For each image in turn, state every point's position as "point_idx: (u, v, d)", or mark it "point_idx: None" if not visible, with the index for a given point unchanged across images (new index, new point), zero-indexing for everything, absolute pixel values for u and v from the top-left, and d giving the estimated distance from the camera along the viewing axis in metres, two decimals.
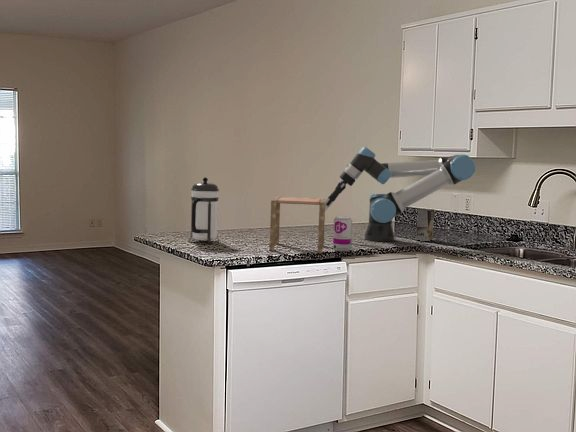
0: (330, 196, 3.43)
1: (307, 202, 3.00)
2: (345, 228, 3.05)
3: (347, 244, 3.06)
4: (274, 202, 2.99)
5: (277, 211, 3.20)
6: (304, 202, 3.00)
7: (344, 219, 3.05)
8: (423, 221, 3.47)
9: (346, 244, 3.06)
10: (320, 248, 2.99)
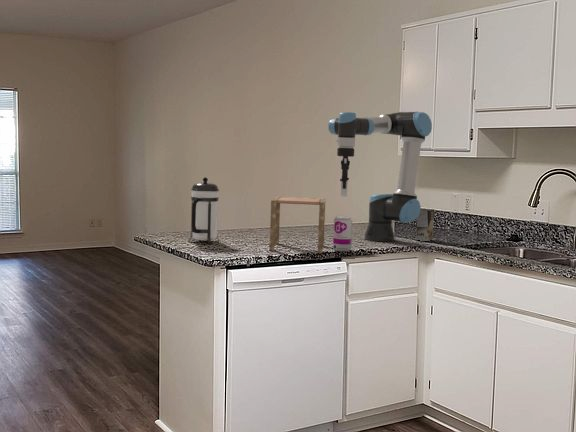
0: None
1: (307, 202, 3.00)
2: (345, 228, 3.05)
3: (347, 244, 3.06)
4: (274, 202, 2.99)
5: (277, 211, 3.20)
6: (304, 202, 3.00)
7: (344, 219, 3.05)
8: (423, 221, 3.47)
9: (346, 244, 3.06)
10: (320, 248, 2.99)
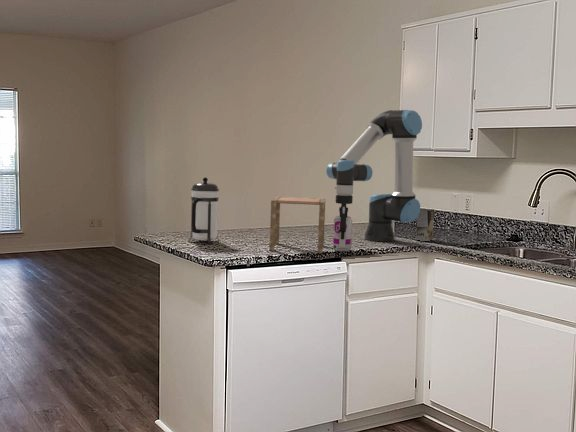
0: None
1: (307, 202, 3.00)
2: None
3: (347, 244, 3.06)
4: (274, 202, 2.99)
5: (277, 211, 3.20)
6: (304, 202, 3.00)
7: None
8: (423, 221, 3.47)
9: (346, 244, 3.06)
10: (320, 248, 2.99)
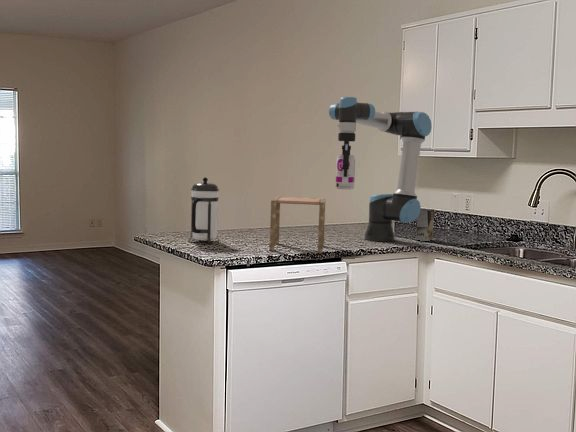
0: None
1: (307, 202, 3.00)
2: None
3: (350, 182, 3.04)
4: (274, 202, 2.99)
5: (277, 211, 3.20)
6: (304, 202, 3.00)
7: None
8: (423, 221, 3.47)
9: (349, 182, 3.03)
10: (320, 248, 2.99)
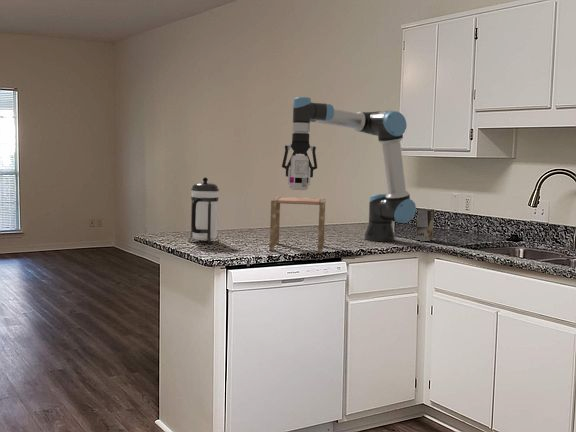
0: None
1: (307, 202, 3.00)
2: (290, 165, 3.03)
3: (291, 183, 3.02)
4: (274, 202, 2.99)
5: (277, 211, 3.20)
6: (304, 202, 3.00)
7: None
8: (423, 221, 3.47)
9: (290, 182, 3.03)
10: (320, 248, 2.99)
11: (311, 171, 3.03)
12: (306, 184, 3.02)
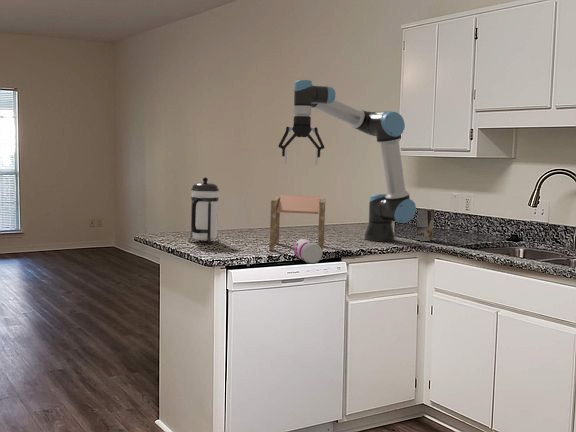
0: None
1: (307, 212, 3.01)
2: (297, 244, 2.80)
3: (305, 244, 2.72)
4: (274, 202, 2.99)
5: None
6: (304, 212, 3.01)
7: (295, 244, 2.83)
8: (423, 221, 3.47)
9: (304, 245, 2.73)
10: None
11: (318, 151, 3.02)
12: None
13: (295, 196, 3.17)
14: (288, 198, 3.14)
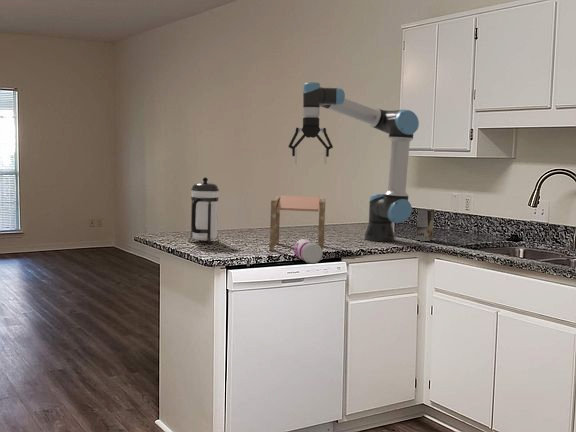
0: (326, 149, 3.16)
1: (307, 209, 3.01)
2: (297, 244, 2.80)
3: (305, 244, 2.72)
4: (274, 202, 2.99)
5: (277, 211, 3.20)
6: (304, 209, 3.01)
7: None
8: (423, 221, 3.47)
9: (304, 245, 2.73)
10: None
11: (327, 151, 3.14)
12: None
13: (295, 196, 3.17)
14: (288, 198, 3.14)
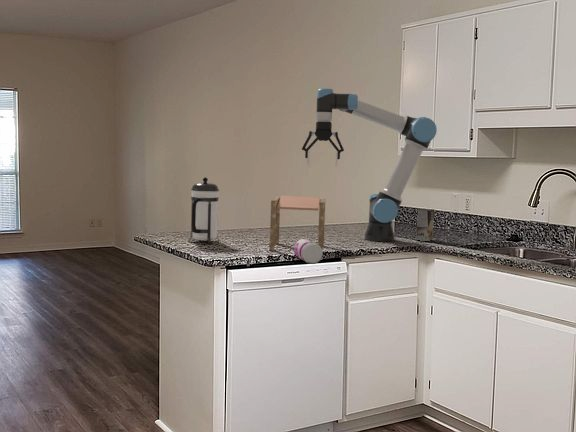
0: None
1: (307, 208, 3.01)
2: (297, 244, 2.80)
3: (305, 244, 2.72)
4: (274, 202, 2.99)
5: (277, 211, 3.20)
6: (304, 208, 3.01)
7: None
8: (423, 221, 3.47)
9: (304, 245, 2.73)
10: None
11: (338, 154, 3.31)
12: None
13: (295, 196, 3.17)
14: (288, 198, 3.14)
